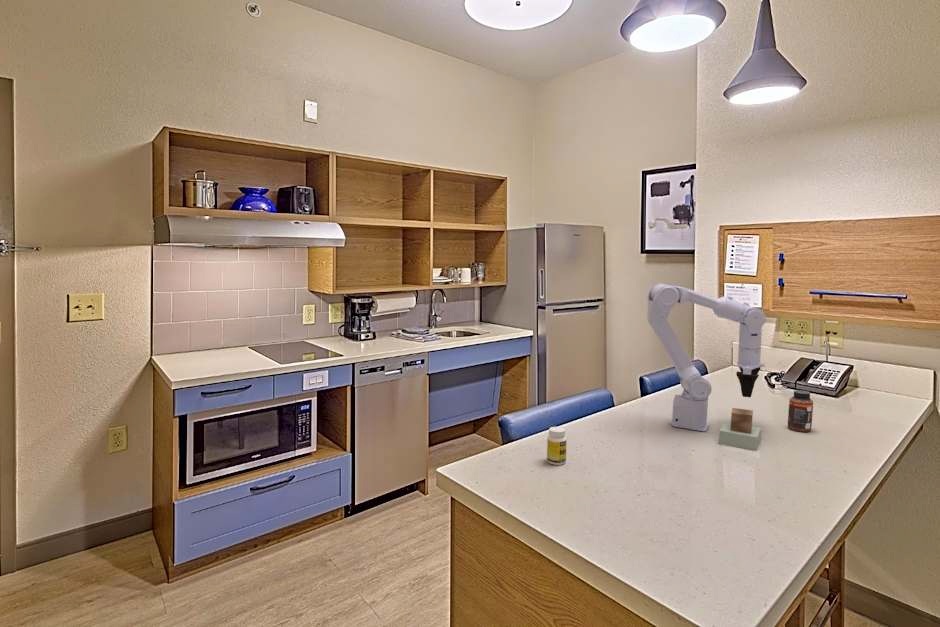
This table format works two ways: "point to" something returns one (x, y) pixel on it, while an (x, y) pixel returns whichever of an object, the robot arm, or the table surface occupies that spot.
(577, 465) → the table surface
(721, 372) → the table surface
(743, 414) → the walnut cube
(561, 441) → the supplement bottle
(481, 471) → the table surface
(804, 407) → the supplement bottle
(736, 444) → the sage block
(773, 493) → the table surface
